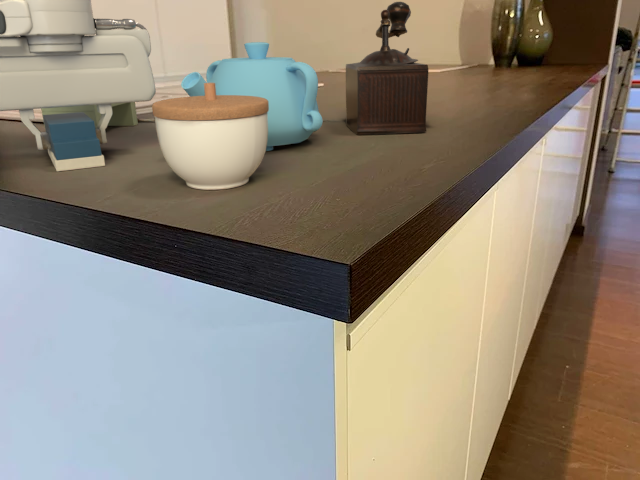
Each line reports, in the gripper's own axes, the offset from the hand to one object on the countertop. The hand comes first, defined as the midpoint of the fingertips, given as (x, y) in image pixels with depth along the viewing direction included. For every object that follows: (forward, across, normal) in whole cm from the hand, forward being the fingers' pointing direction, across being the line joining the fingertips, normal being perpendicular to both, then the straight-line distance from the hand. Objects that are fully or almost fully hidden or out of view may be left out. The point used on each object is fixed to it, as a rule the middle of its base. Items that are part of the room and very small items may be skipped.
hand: (72, 146), depth 63 cm
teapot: (+2, -21, +4) cm, 21 cm away
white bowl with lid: (+2, -11, +19) cm, 22 cm away
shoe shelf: (+2, -5, -21) cm, 22 cm away
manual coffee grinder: (+2, -44, 0) cm, 44 cm away
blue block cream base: (+2, 0, 0) cm, 2 cm away
